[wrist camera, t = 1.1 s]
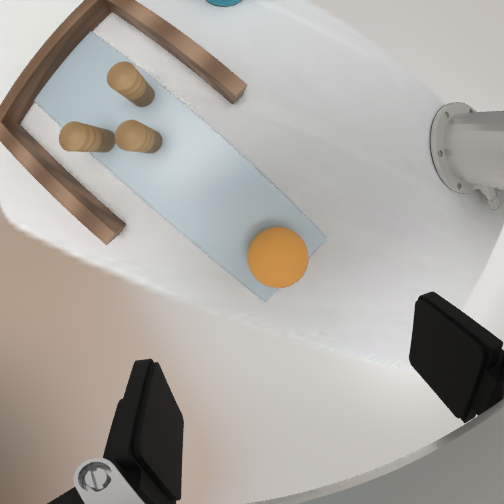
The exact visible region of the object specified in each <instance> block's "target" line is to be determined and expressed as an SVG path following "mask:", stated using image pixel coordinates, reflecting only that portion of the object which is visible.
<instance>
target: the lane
mask: <svg viewBox="0 0 504 504" xmlns="http://www.w3.org/2000/svg"><path fill="white" fill-rule="evenodd" d="M123 61H126V62H130V63H132V64H133V65H134V67H135V68H136V69H137V70H138V71H139V73H140V74H141V75H142V76H143V77H144V79H145V80H146V81H147V82H148V84H149V85H150V86H151V87H152V88H153V90H154V92H155V97H154V100H153V101H152V103H151V104H150V105H148V106H146V107H138V106H136V105H135V104H133V103H132V102H131V101H129V100H128V99H127V98H125V97H124V96H122V95H121V94H119V93H118V92H117V91H115V90H114V89H112V88H111V87H110V86H109V85H108V83H107V74H108V71H109V70H110V68H111V67H112V66H113V65H115V64H116V63H119V62H123ZM34 101H35V102H36V103H37V104H38V105H39V106H40V107H41V108H42V109H43V110H44V111H45V112H46V113H47V114H48V115H49V116H51V117H52V118H53V119H54V120H55V121H56V122H57V123H58V124H59V125H60V126H61V127H62V128H63V127H64V126H65V125H66V124H67V123H69V122H72V121H76V122H80V123H84V124H88V125H92V126H96V127H99V128H103V129H107V130H110V131H112V132H113V133H114V135H115V132H116V129H117V128H118V126H119V125H120V124H121V123H123V122H124V121H126V120H136V121H138V122H140V123H142V124H144V125H146V126H148V127H150V128H152V129H153V130H155V131H157V132H159V133H160V135H161V136H162V146H161V147H160V149H159V150H158V151H156V152H155V153H142V152H133V151H125V150H122V149H121V148H119V147H118V146H117V144H116V143H115V145H114V147H113V148H112V149H111V150H110V151H108V152H89V153H91V154H92V155H93V156H94V157H95V158H96V159H97V160H98V161H99V162H101V163H102V164H103V165H104V166H105V167H106V168H107V169H108V170H109V171H111V172H112V173H113V174H114V175H115V176H116V177H117V178H118V179H120V180H121V181H122V182H123V183H124V184H125V185H126V186H127V187H129V188H130V189H131V190H132V191H133V192H134V193H135V194H137V195H138V196H139V197H140V198H141V199H142V200H143V201H145V202H146V203H147V204H148V205H149V206H150V207H151V208H153V209H154V210H155V211H156V212H157V213H158V214H160V215H161V216H162V217H163V218H164V219H165V220H167V221H168V222H169V223H170V224H171V225H172V226H174V227H175V228H176V229H177V230H178V231H179V232H181V233H182V234H183V235H184V236H185V237H187V238H188V239H189V240H190V241H191V242H192V243H194V244H195V245H196V246H197V247H198V248H200V249H201V250H202V251H203V252H204V253H206V254H207V255H208V256H209V257H210V258H212V259H213V260H214V261H215V262H216V263H218V264H219V265H220V266H221V267H222V268H224V269H225V270H226V271H227V272H228V273H230V274H231V275H232V276H233V277H235V278H236V279H237V280H238V281H239V282H241V283H242V284H243V285H244V286H246V287H247V288H248V289H249V290H250V291H252V292H253V293H254V294H255V295H257V296H258V297H259V298H260V299H262V300H263V301H264V302H266V301H267V300H268V299H269V298H270V297H271V296H272V295H273V294H274V293H275V292H276V291H277V290H278V289H279V288H272V287H268V286H266V285H264V284H262V283H260V282H259V281H258V280H257V279H256V278H255V277H254V276H253V274H252V273H251V271H250V268H249V265H248V259H247V256H248V250H249V246H250V244H251V242H252V241H253V239H254V238H255V237H256V236H257V235H258V234H259V233H260V232H262V231H264V230H266V229H268V228H272V227H284V228H288V229H290V230H292V231H294V232H296V233H297V234H298V235H299V236H300V237H301V238H302V239H303V241H304V242H305V244H306V247H307V250H308V258H309V257H310V256H311V255H312V254H313V253H314V252H315V251H316V250H317V248H318V247H319V246H320V245H321V244H322V243H323V242H324V241H325V240H326V239H327V238H326V237H325V236H324V235H323V234H322V233H321V231H320V230H319V229H318V228H317V227H316V226H315V225H314V224H313V223H312V222H311V221H310V220H309V219H308V218H307V217H306V216H305V215H304V214H303V213H302V212H301V211H300V210H299V209H298V208H297V207H296V206H295V205H294V204H293V203H292V202H291V201H290V200H289V199H288V198H287V197H286V196H284V195H283V194H282V193H281V192H280V191H279V190H278V189H277V188H276V187H275V186H274V185H273V184H272V183H271V182H270V181H269V180H268V179H267V178H266V177H265V176H264V175H263V174H262V173H261V172H259V171H258V170H257V169H256V168H255V167H254V166H253V165H252V164H251V163H250V162H249V161H248V160H247V159H245V158H244V157H243V156H242V155H241V154H240V153H239V152H238V151H237V150H236V149H235V148H233V147H232V146H231V145H230V144H229V143H228V142H227V141H226V140H225V139H224V138H222V137H221V136H220V135H219V134H218V133H217V132H216V131H215V130H213V129H212V128H211V127H210V126H209V125H208V124H207V123H205V122H204V121H203V120H202V119H201V118H200V117H198V116H197V115H196V114H195V113H194V112H193V111H192V110H190V109H189V108H188V107H187V106H186V105H184V104H183V103H182V102H181V101H180V100H179V99H177V98H176V97H175V96H174V95H173V94H171V93H170V92H169V91H168V90H166V89H165V88H164V87H163V86H162V85H160V84H159V83H158V82H157V81H155V80H154V79H153V78H152V77H150V76H149V75H148V74H147V73H145V72H144V71H143V70H142V69H140V68H139V67H138V66H137V65H135V64H134V63H133V62H131V61H130V60H129V59H128V58H126V57H125V56H124V55H122V54H121V53H120V52H118V51H117V50H116V49H114V48H113V47H112V46H110V45H109V44H108V43H106V42H105V41H104V40H102V39H101V38H100V37H98V36H97V35H95V34H94V33H93V32H91V31H90V33H89V34H88V35H87V36H86V37H85V38H84V39H83V40H82V41H81V42H80V43H79V44H78V45H77V47H76V48H75V49H74V50H73V51H72V52H71V53H70V55H69V56H68V57H67V58H66V59H65V60H64V62H63V63H62V64H61V65H60V66H59V68H58V69H57V70H56V71H55V73H54V74H53V75H52V77H51V78H50V79H49V81H48V82H47V83H46V85H45V86H44V87H43V89H42V90H41V91H40V93H39V94H38V96H37V97H36V98H35V100H34Z"/></svg>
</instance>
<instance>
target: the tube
mask: <svg viewBox="0 0 504 504" xmlns="http://www.w3.org/2000/svg"><path fill="white" fill-rule="evenodd" d="M207 1H208V2H209V3H211V4H213V5H217V6H232V5H234V4H237V3H239V2H240V1H241V0H207Z"/></svg>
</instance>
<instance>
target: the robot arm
mask: <svg viewBox="0 0 504 504" xmlns="http://www.w3.org/2000/svg"><path fill="white" fill-rule="evenodd" d="M431 152H432V157H433V161H434V164H435V167H436V170H437V172H438V174H439V176H440V178H441V179H442V180H443V182H444V183H445V184H446V185H447V186H448V187H449V188H450V189H452V190H454V191H456V192H460V193H466V194H467V193H472V192H474V191H476V190H477V189H479V190H481V192H482V194H484V195H485V196H486V199H487V202H488V204H489V206H490V208H491V209H493V210H495V209H498V208H499V207H500V204H501V203H500V201H499V198H498V196H497V194H496V192H495V190H494V189H495V188H496V190H498V191H500V190H504V111H494V112H476V111H475V110H474V109H472V108H471V107H470V106H468V105H466V104H464V103H460V102H456V103H450V104H447V105H445V106H443V107H442V108H441V109H440V110H439V111H438V113H437V115H436V116H435V119H434V122H433V125H432V130H431ZM502 346H503V342H502V341H501V340H500V339H498V338H497V337H496V336H494V335H493V334H492V333H490V332H489V331H488V330H486V329H485V328H484V327H482V326H481V325H480V324H478V323H477V322H475V321H474V320H473V319H471V318H470V317H469V316H467V315H466V314H465V313H463V312H462V311H461V310H459V309H458V308H456V307H455V306H454V305H452V304H451V303H449V302H448V301H446V300H445V299H444V298H442V297H441V296H439V295H438V294H436V293H435V292H429V293H426V294H424V295H421V296H419V298H418V301H416V303H415V312H414V322H413V331H412V340H411V347H410V354H409V361H410V363H411V365H412V366H413V368H414V369H415V370H416V371H417V372H418V373H419V374H420V376H421V377H422V378H423V379H424V380H425V381H426V382H427V384H428V385H429V386H430V387H431V388H432V389H433V391H434V392H435V393H436V394H437V395H438V396H439V398H440V399H441V400H442V401H443V402H444V404H445V405H446V406H447V407H448V408H449V409H450V411H451V412H452V413H453V414H454V415H455V416H456V417H457V418H461V420H462V421H463V422H464V423H466V422H468V421H469V420H471V419H473V418H474V417H475V416H476V414H477V415H478V416H477V417H476V418H474V419H473V420H471V421H470V422H468V423H466V424H465V425H463V426H462V427H460V428H458V429H457V430H455V431H453V432H451V433H450V434H448V435H446V436H444V437H442V438H441V439H439V440H437V441H435V442H433V443H431V444H429V445H427V446H425V447H424V448H422V449H419V450H417V451H416V452H413V453H411V454H409V455H407V456H405V457H403V458H401V459H398V460H396V461H394V462H391V463H389V464H387V465H385V466H382V467H380V468H377V469H374V470H372V471H369V472H367V473H364V474H361V475H359V476H356V477H353V478H350V479H347V480H344V481H341V482H338V483H335V484H331V485H328V486H325V487H321V488H318V489H315V490H310V491H307V492H303V493H299V494H295V495H290V496H286V497H282V498H277V499H271V500H266V501H261V502H255V503H248V504H504V350H502ZM183 428H184V421H183V416H182V414H181V411H180V410H179V407H178V405H177V403H176V401H175V399H174V396H173V394H172V392H171V390H170V388H169V386H168V384H167V381H166V379H165V376H164V374H163V372H162V369H161V367H160V365H159V363H158V362H155V363H154V362H153V360H152V359H145V360H137V361H135V363H134V365H133V368H132V371H131V375H130V378H129V381H128V384H127V387H126V391H125V394H124V398H123V399H121V400H120V401H119V403H118V405H117V409H116V412H115V416H114V419H113V422H112V426H111V429H110V433H109V437H108V440H107V444H106V447H105V451H104V455H103V458H92V459H89V460H87V461H85V462H83V463H82V464H81V465H80V466H79V467H78V468H77V469H76V471H75V474H74V484H75V487H74V488H72V489H71V490H69V491H67V492H66V493H64V494H63V495H61V496H59V497H58V498H56V499H54V500H53V501H51V502H49V503H48V504H176V500H180V499H181V477H182V449H183Z"/></svg>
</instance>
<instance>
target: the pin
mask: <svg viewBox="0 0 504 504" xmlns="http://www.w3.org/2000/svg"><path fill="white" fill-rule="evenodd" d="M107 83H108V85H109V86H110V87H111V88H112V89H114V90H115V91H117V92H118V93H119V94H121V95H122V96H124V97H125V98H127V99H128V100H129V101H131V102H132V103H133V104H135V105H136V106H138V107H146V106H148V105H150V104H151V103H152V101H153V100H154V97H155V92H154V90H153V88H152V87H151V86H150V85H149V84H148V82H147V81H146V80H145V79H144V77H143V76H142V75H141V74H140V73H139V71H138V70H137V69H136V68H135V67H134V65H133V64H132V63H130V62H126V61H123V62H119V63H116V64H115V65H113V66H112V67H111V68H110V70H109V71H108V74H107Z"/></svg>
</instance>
